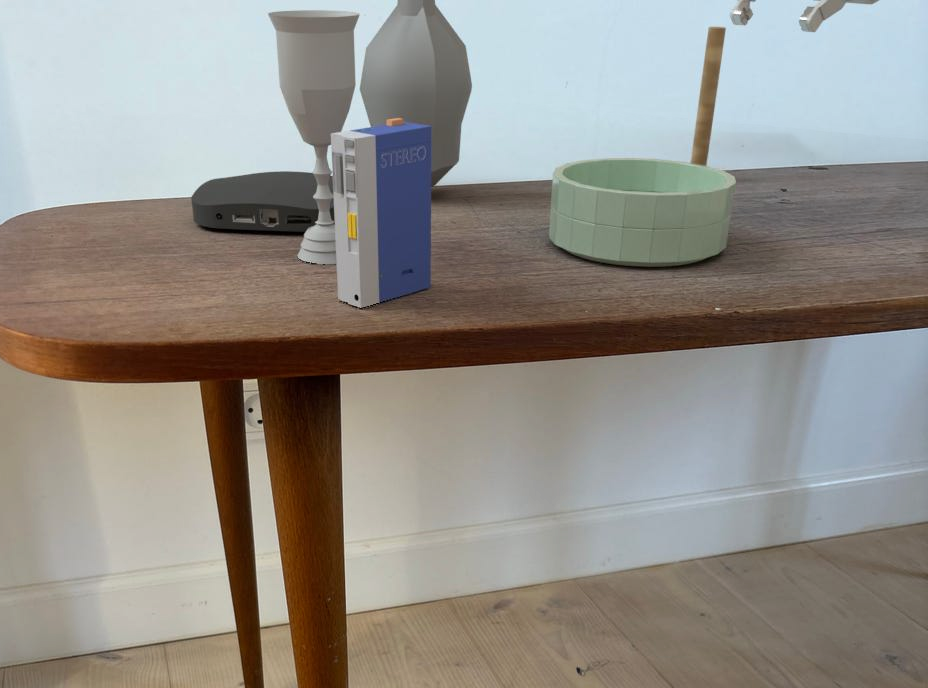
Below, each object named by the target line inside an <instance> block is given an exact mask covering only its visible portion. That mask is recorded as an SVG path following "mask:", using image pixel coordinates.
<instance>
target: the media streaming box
mask: <svg viewBox="0 0 928 688" xmlns="http://www.w3.org/2000/svg"><path fill="white" fill-rule="evenodd" d="M317 186H318V184H317V181H316V177H315V176H314V174H313V172H307V171H284V170H283V171H264V172H256V173H255V172H254V173H249V174H242V175H234V176H228V177H218V178H213V179H209V180H207V181H205V182H203V183H202V184H201V185H199V186H198V187H197V188H196V190H195V191H194V192H193V194H192V195H191V197H190V200H191V207H192V216H193V222H194V223H195V224H196V225H199V226H202V227H206V228H210V229H221V230H239V231H240V230H242V231H260V232H261V231H262V232H263V231H265V232H289V233H290V232H295V233H296V232H297V233H305V232H306V231H307V229H308V228H309V227H312V226H315V225H316V223H315V222H316V221H318V216H319V208H318V204H317V201H316V200H315V199H314V198H313V196H314V195H315V193H316V191H317ZM328 186H329V189H330V192H331V193H332V194H333V175H330V177H329V182H328ZM329 212H330V216H331V220H332V221H334V223H333V224H334V225H335V217H334V198H333V199H332V200H331V203H330V210H329Z"/></svg>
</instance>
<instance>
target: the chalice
mask: <svg viewBox="0 0 928 688" xmlns="http://www.w3.org/2000/svg"><path fill="white" fill-rule="evenodd" d="M267 15H268V17H269V20H270V22H271V24H272V26H273V27H274V29H275V38H276V52H277V69H278V80H279V81H278V82H279V88H280V91H281V93H282V96H283V100H284V102H285V105H286V108H287V110H288V112H289V114H290V117H291V118H292V119H291V120H292V121H293V123H294V126H295V127H296V129H297V131H298V133H299V135H300V137H301V139H302V141H303V142H304V143H306V144H308V145H309V146H312V147H313V148H314V153H315V164H314V169H313V171H312V173H313V174H314V176H315V177H316V181H317V184H318V186H317V191H316V193H315V195H314V196H313V198H314V199H315V200H316V201H317V204H318V208H319V216H318V221H316V222H315V223H316V225H315V226H312V227H309V228H308V229H307V231H306V232H304V234H303V239H302V241H301V243H300V247H301V248H300V250H299V252H298V254H297V256H298V258H299V259H301V260H303V261H307V262H310V263H309V264H311V262H312V263H317V264H316V265H323V264H325V265H337V262H336V240H335V225H334V224H333V223H334V221H332V220H331V216H330V212H329V210H330V203H331V200H332V199H333V198H334V195H333V194H332V193H331V192H330V189H329V186H328V182H329V177H330V176H332V174H333V172H332V169H331V168H330V166H329V161H328V149H329V146H331V133H337V132H343V128H344V125H345V123H346V120H347V117H348V115H349V113H350V109H351V105H352V101H353V97H354V93H355V90H356V86H357V85H356V57H355V56H356V55H355V28H356V26H357V23H358V20H359V18H360V16H361V14H360V13H359V12H356V11H349V10H348V11H347V10H327V9H326V10H325V9H322V10H321V9H319V10H318V9H317V10H315V9H313V10H312V9H310V10H309V9H307V10H306V9H305V10H304V9H303V10H299V9H298V10H282V11H281V10H279V11H272V12H267ZM297 256H296V257H297ZM299 259H298V260H299Z"/></svg>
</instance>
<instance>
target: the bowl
mask: <svg viewBox="0 0 928 688" xmlns="http://www.w3.org/2000/svg"><path fill="white" fill-rule="evenodd" d="M736 187H737V181H736V176H734V175H733V174H731V173H728V172H727V171H725V170H723V169H720V168H716V167H712V166H709V165H707V166H705V165H699V164H694V163H691V162H689V161H688V162H687V161H680V160H670V159H661V158H659V159H658V158H645V157H644V158H642V157H607V158H605V157H604V158H594V159H583V160H578V161H572V162H567V163H564V164H562V165H560V166H557V167H555V168H554V171H553V172H552V181H551V198H550V212H549V225H548V226H549V227H548V228H549V229H548V230H549V231H548V239H549V240H550V241H551V242H552V243H553V244H554V245H555V246H556V247H559V248H561V249H563V250H564V251H566V252H568V253H569V254H571V255H573V256H576V257H579V258H581V259H585V260H589V261H593V262H597V263H602V264H608V265H615V266H616V265H617V266H625V267H641V268H642V267H643V268H646V267H647V268H657V267H658V268H661V267H673V266H674V267H676V266H684V265H690V264H694V263H698V262H702V261H703V260H705V259H707V258H710V257H713V256H717V255H719V254H720V253H721V252H722V251H725V249H726V248H727V245H728V244H727V243H728V237H729V231H730V226H731V218H732V211H733V205H734V201H735V200H734V199H735V193H736Z"/></svg>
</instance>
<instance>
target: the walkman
mask: <svg viewBox="0 0 928 688" xmlns="http://www.w3.org/2000/svg"><path fill="white" fill-rule="evenodd" d="M330 147H331V168H332V169H331V171H332V176H333V195H334V217H335V240H336V262H337V264H336V281H337V282H336V283H337V284H336V285H337V300H338V299H340V300H342V301H345V302H348V304H351V305H354V306H357V307H360V308H361V307H365V306H369V307H371V306H370V305H373V304H376V303H379V304H381V303H380V302H382V301H385V302H387V301H386V300H388V301H390V300H389V299H391V300H394V299H393V298H395V299H397V297H398V298H401V297H404V296H407V295H410V294H413V292H414V293H416V292H420V291H423V290H426V289H430V288H431V286H432V281H431V280H432V277H431V276H432V268H431V267H432V187H431V126H428V125H422V124H415V123H409V122H403V119H400V118H395V119H388V120H387V121H386V125H381V126H375V127H371V126H370V127H364V128H363V127H362V128H357V129H351V130H344V131H341V132H337V133H331V145H330ZM403 295H404V296H403ZM400 296H401V297H400ZM382 303H383V302H382ZM348 304H347V305H348ZM376 305H377V304H376ZM373 306H374V305H373Z"/></svg>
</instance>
